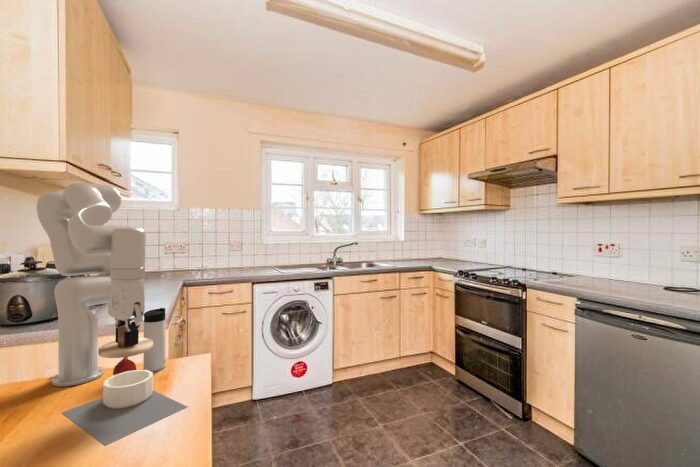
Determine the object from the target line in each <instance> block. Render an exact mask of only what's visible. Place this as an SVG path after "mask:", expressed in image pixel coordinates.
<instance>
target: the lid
mask: <svg viewBox="0 0 700 467" xmlns="http://www.w3.org/2000/svg"><path fill="white" fill-rule="evenodd" d="M117 328H118V343H116V342H115V341H116V340H114V341H110V342H108V343H104V344H103V345H101V346H100V347H98V357H102V358H106V359H119V358H120V359H121V358H122V359H123V358H124V357H128V358H129V357H133V356H137V355H141V354H144V352H146V351H148V350H150V349H151V348H152V347H153V340H151V339H148V338H144V337H138V344H137V345H133V346H129V347H124V332H125V331H126V325H122V326H119V327H117Z"/></svg>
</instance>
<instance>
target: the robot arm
mask: <svg viewBox="0 0 700 467" xmlns="http://www.w3.org/2000/svg"><path fill="white" fill-rule="evenodd" d="M121 205H122V196H121V193H120V191H119V190H118V189H117V188H116V187H114V186H112V185H107V184H106V185H105V184H97V183H89V182H73V183H70V184H68V185H67V186H65V187H64V189H63V191H62V192H60V191H59V192H46V193H44V194H42V195H40V196H39V197H38V198H37V201H36V214H37V217H38V218H37V219H38V220H39V224H40V225H41V226H42V228H43V230H44V232H45V234H46V235H47V236H48V238H49V243H50V248H51V252H52V257H53V262H54V266H55V269H56V271H57V273H58V274H60V275H61V276H67V277H68V276H69V277H68V278H65V279H63V280H60V281H59V282H57V284H56V285H55V287H54V299H55V305H56V308H57V309H56V310H57V315H58V316H57V317H58V318H57V319H58V320H57V321H58V351H57V352H58V358H57V359H58V360H57V361H58V374H56V375H55V376H53V377H52V379H51V382H50V383H51V385H52V386H54V387H72V386H77V385H82V384H86V383H89V382H92V381H93V380H96V379H98V378H99V377H101V376H102V375H103V374H104V368H103V367H102V366H98V365H99V364H98V359H99V358H98V357H99V354H98V350H99V347H98V346H99V345H98V344H99V342H98V340H99V339H98V338H99V336H98V335H99V333H98V330H99V327H98V326H99V325H98V323H99V322H98V317H97V316H96V315H95V313H94V312H92V311H91V310H90V309H89V307H93V306H97V305H98V306H99V305H103V304H108V309H107V314H108V315H109V316H110V317H111V318H114V321H115V324H114V326H115V340H114V341H115V342H116V343H118V327H119V326H122V325H126V331H125V332H124V347H129V346H133V345H137V344H138V338H140V337H139V332H140V331H139V330H140V326H141V324H142V323H144V313H145V307H146V306H145V305H146V304H145V300H146V298H145V286H144V280H145V279H146V244H147V240H146V239H147V238H146V236H147V235H146V230H145V229H143V228H141V227H133V226H129V225H128V226H127V225H105V224H107V223H108V222H109V221H110V220H111V218H112V215H113V214H114V213H115V212H116V211H118V210H119V208H120V207H121ZM71 276H73V277H71Z"/></svg>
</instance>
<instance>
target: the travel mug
mask: <svg viewBox="0 0 700 467" xmlns="http://www.w3.org/2000/svg"><path fill="white" fill-rule="evenodd" d="M166 330H167V328H166V307H164V308H163V307H160V308H156V309H150V310H147V311H146V312H145V311H144V315H143V338H148V339H151V340H153V347H152V348H151V349H150V350H148V351H146V352H144V353H143V370H149V371H151V372H153V373H156V372H160V371H163V370H164V369H165V368H166Z"/></svg>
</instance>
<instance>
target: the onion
mask: <svg viewBox="0 0 700 467" xmlns="http://www.w3.org/2000/svg"><path fill="white" fill-rule="evenodd" d="M133 370H137V365H136V363H135V362H134V361H132V360H131V359H129V357H122V359H121V360H120V361H119V362H118V363H117V364H116V365H115V366H114V367H113V371H112V376H114V375H117V374H120V373H123V372H127V371H133Z"/></svg>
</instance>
